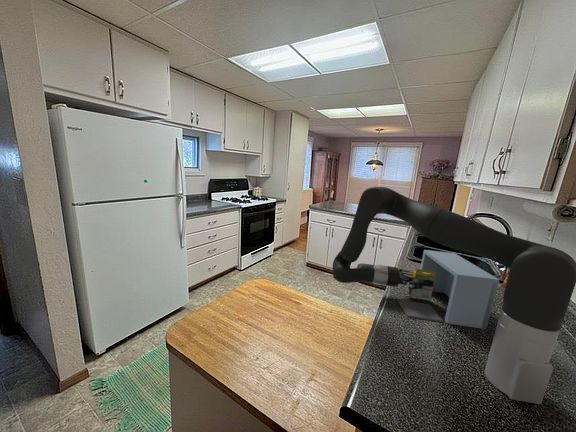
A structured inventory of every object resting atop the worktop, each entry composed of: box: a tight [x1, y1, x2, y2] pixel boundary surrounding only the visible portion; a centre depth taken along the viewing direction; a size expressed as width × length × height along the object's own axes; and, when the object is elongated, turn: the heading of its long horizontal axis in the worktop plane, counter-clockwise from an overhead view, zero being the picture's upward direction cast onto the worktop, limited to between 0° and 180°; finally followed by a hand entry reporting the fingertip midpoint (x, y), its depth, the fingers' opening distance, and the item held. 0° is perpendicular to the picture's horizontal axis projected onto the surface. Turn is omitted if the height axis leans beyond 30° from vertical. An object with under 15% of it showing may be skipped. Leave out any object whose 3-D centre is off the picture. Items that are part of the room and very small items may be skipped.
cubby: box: [419, 249, 500, 330], centre depth 88 cm, size 25×12×17 cm, turn 172°
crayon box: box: [408, 268, 437, 301], centre depth 91 cm, size 7×3×12 cm, turn 80°
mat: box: [397, 299, 443, 323], centre depth 84 cm, size 10×11×1 cm
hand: (430, 281), depth 91 cm, fingers closed on crayon box, 3 cm apart
